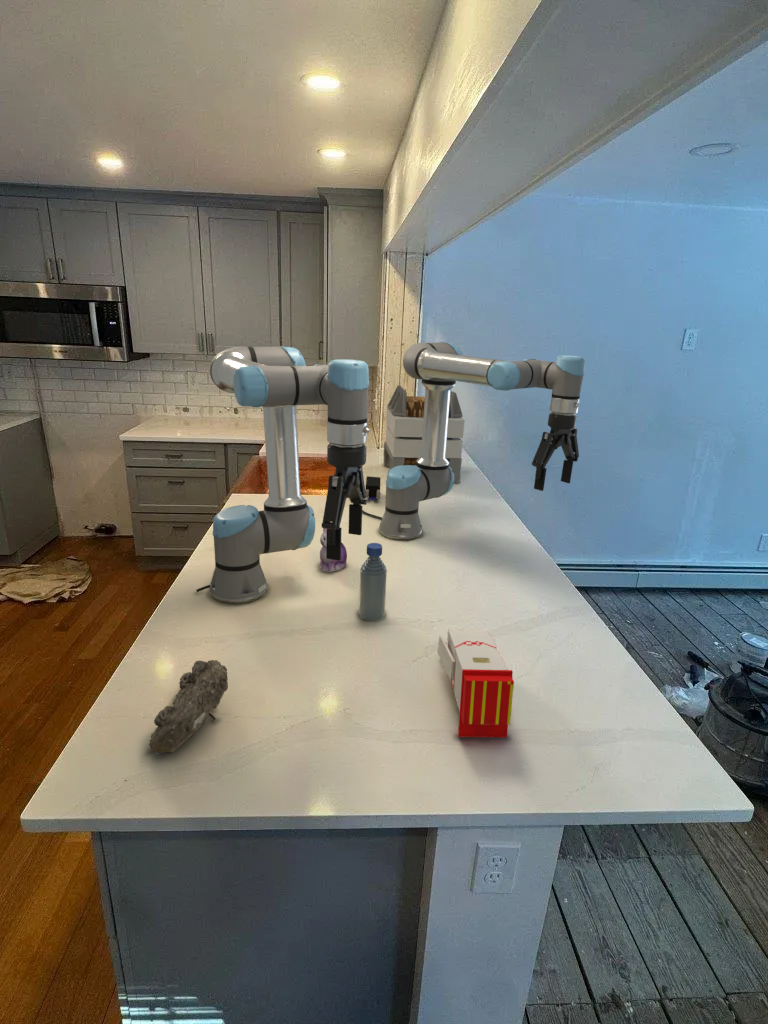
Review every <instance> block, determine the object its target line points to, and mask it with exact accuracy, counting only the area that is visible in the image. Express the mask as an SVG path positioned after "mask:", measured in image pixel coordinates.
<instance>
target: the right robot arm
mask: <svg viewBox="0 0 768 1024" xmlns="http://www.w3.org/2000/svg"><path fill="white" fill-rule="evenodd" d="M585 365H586V360H585V358H584V357H582V356H578V355H566V354H565V355H564V354H563V355H558V356H557V357H556V360H555V361H549V360H541V359H536V358H524V359H521V360H506V359H505V360H504V359H503V360H502V359H496V358H487V357H479V356H471V355H464V354H463V352H462V350H461V349H460V347H459V346H457V345H456V344H455V343H451V342H445V341H443V342H442V341H441V342H440V341H439V342H438V341H437V342H417V343H414V344H412V345H411V346H409V347H408V348H407V350H406V351H405V353H404V355H403V358H402V366H403V369H404V372H405V373H406V374H407V375H408V376H409V377H411V378H412V379H415V380H421V385H422V386H423V387H424V389H425V392H424V397H425V404H424V419H423V434H422V449H421V457H420V458H418V459H417V461H416V466H413V465H401V466H396V467H394V468H392V469H390V468H389V470H388V472H387V474H386V479H385V504H384V505H385V507H384V508H385V509H384V513H383V515H382V517H381V516H379V515H375V514H372V513H369V512H367V511H365V510H363V509H362V514H364V515H366V516H369V517H372V518H375V519H379V520H381V522H379V525H378V533H379V534H380V535H381V536H382V537H385V538H387V539H389V540H395V541H410V540H415V539H418V538H420V537H421V536H422V535H423V525H422V524H421V518H420V515H419V507H420V506H419V505H420V502H423V501H427V500H431V499H437V498H440V497H443V496H446V495H448V493H450V492H451V490H452V489H453V488H454V487H453V486H454V484H455V483H454V473H452V469H451V467H450V466H449V462H448V461H447V459H446V458H445V453H446V441H447V428H448V416H449V404H450V392H451V391H452V389H453V388H454V387H455V386H456V384H457V382H461V383H465V384H473V385H479V386H487V387H491V388H492V389H494V390H496V391H503V392H504V391H511V390H520V389H532V388H533V389H534V388H539V389H546V390H551V398H550V404H549V413H548V418H547V419H548V420H547V426H548V427H549V428H550V431H549V432H548V431H543V432H542V435H541V440H540V442H539V445H538V447H537V449H536V452H535V454H534V457H533V460H532V461H531V466H533V467H535V475H534V477H535V478H534V485H533V489H534V490H537V491H539V492H543V491H544V489H545V484H546V483H545V482H546V476H547V468H546V466H547V465H548V463H549V461H550V459H551V457H552V456H553V454H554V453H555V451H556V450H557V449H558V448H560V447H561V449H562V452H563V455H564V458H565V459H563V463H562V468H561V469H562V470H561V475H560V482H562V483H566V484H571V478H572V472H573V466H574V463H576V462H578V461H579V457H580V453H579V444H578V428H576V423H577V419H578V416H577V414H578V412H579V411H578V410H579V406H580V397H581V391H582V385H583V380H584V376H585Z"/></svg>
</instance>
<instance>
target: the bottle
mask: <svg viewBox="0 0 768 1024" xmlns="http://www.w3.org/2000/svg"><path fill="white" fill-rule="evenodd" d="M359 569H360V570H359V571H360V573H359V601H358V616H359V617H360V618H361V619H363V620H365V621H372V622H373V621H379V620H381V619H383V618H384V617H385V615H386V614H385V613H386V596H387V595H386V593H387V573H388V569H387V565H386V564H385V563H384V561H383V560H382V559H381V556H378V557H371V556H368V557H367V558H366V560H365V561H364V562H363V563H362V564H361V566H360V568H359Z"/></svg>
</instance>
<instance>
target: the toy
mask: <svg viewBox="0 0 768 1024" xmlns="http://www.w3.org/2000/svg"><path fill="white" fill-rule="evenodd" d="M446 640H447V643H446V641H445V639H444V636H443V635H442V634H439V637H438V646H437V656H438V657H439V659H440V661H441V663H442V666H443V668H444V670H445V672H446V674H447V677H448V679H449V681H450V684H451V687H452V690H453V693H454V697H455V701H456V705H457V708H458V711H459V714H458V715H459V716H458V730H457V731H458V732H457V737H458V738H508V731H509V726H510V725H511V717H512V707H513V697H514V696H513V695H514V684H515V680H514V679H513V673H514V671H513V670H512V669H508V667H507V665H506V662H505V661H504V659H503V658H502V655H501V653H500V651H499V649H498V647H497V643H496V639H495V637H494V635H493V634H491V632H490V631H489V629H467V628H466V629H465V628H463V629H461V628H460V629H459V628H448V630H447V639H446Z"/></svg>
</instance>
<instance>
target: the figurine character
mask: <svg viewBox="0 0 768 1024" xmlns="http://www.w3.org/2000/svg"><path fill="white" fill-rule="evenodd" d="M365 492H366V498H365V499H367V502H370V501H371V500H374V502H375V503H376V502H377V501H378V500H377V499H380V495H381V476H368V475H367V476H366V479H365Z"/></svg>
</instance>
